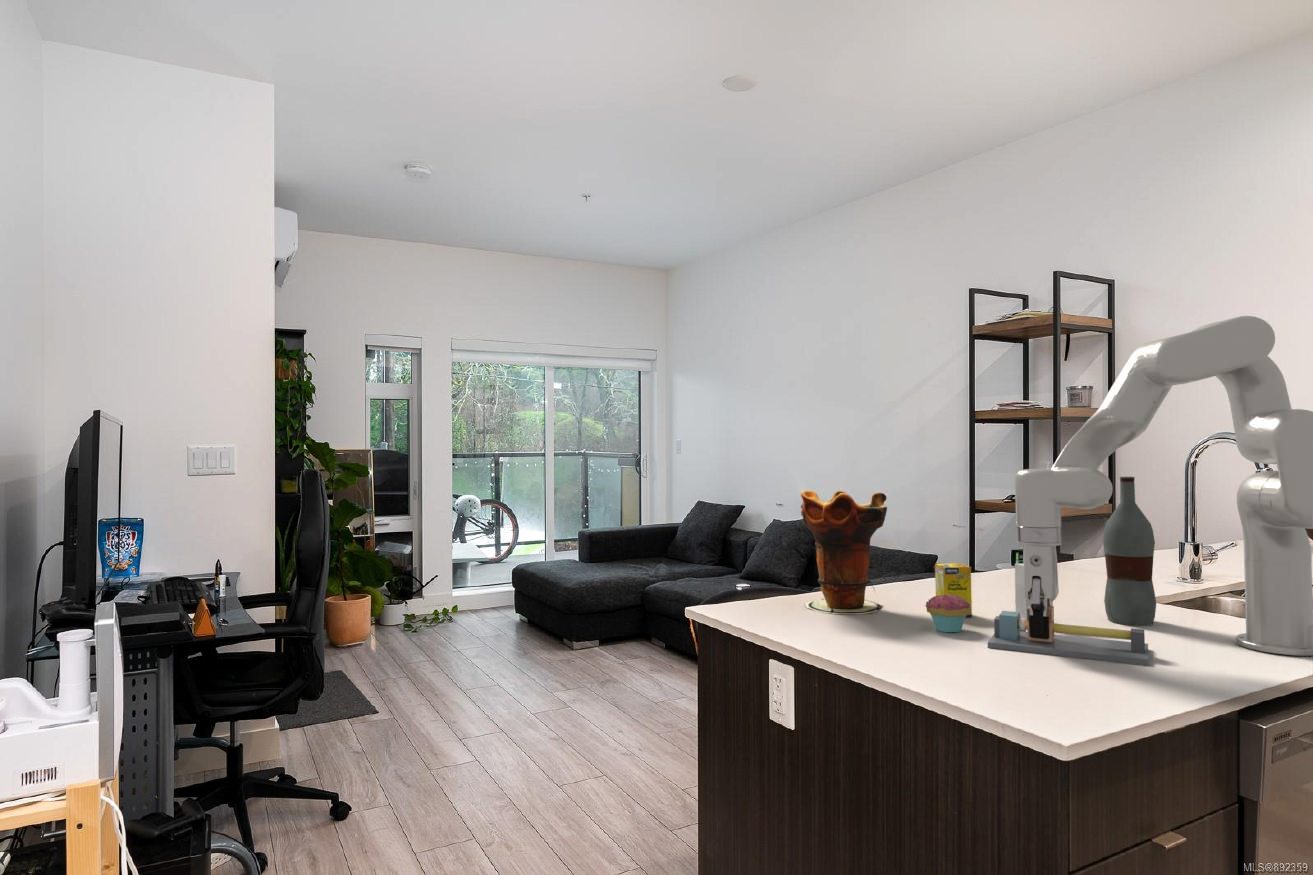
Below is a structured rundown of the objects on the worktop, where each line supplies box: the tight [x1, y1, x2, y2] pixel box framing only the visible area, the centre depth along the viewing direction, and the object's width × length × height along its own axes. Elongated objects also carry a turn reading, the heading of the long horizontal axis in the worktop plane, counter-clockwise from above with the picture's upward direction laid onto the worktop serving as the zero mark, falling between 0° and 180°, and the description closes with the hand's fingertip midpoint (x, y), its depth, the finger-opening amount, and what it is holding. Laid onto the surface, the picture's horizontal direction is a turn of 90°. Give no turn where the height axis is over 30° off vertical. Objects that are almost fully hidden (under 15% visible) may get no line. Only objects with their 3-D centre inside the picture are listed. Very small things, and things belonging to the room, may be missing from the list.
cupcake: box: [925, 570, 971, 633], centre depth 158 cm, size 9×8×12 cm
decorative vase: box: [800, 490, 888, 615], centre depth 183 cm, size 21×23×28 cm
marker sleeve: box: [1026, 605, 1055, 642], centre depth 145 cm, size 4×5×6 cm
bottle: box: [1102, 476, 1157, 627], centre depth 163 cm, size 9×9×30 cm
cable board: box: [987, 610, 1150, 667], centre depth 142 cm, size 25×12×5 cm, turn 58°
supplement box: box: [934, 562, 973, 618], centre depth 172 cm, size 6×6×11 cm
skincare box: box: [1014, 563, 1054, 621], centre depth 163 cm, size 6×4×12 cm
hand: (1041, 633), depth 145 cm, fingers closed on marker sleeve, 4 cm apart
